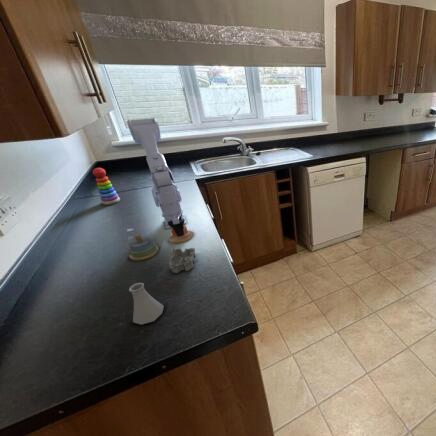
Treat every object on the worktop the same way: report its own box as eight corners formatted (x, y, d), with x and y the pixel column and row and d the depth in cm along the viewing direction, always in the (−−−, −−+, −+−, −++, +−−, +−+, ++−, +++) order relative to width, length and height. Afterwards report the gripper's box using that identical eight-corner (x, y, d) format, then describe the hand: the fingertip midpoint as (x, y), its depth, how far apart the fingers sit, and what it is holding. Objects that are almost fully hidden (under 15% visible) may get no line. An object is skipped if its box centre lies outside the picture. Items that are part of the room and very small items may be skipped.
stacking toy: (99, 206, 138) (83, 171, 129) (106, 200, 145) (91, 166, 136) (117, 204, 140) (102, 169, 131) (122, 198, 147) (109, 164, 138)
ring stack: (130, 251, 101) (122, 233, 98) (158, 243, 105) (151, 226, 102) (129, 263, 94) (121, 245, 91) (159, 255, 98) (152, 237, 95)
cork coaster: (168, 235, 111) (168, 234, 111) (192, 229, 115) (191, 228, 115) (170, 245, 104) (169, 244, 104) (195, 238, 108) (194, 238, 108)
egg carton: (175, 256, 98) (172, 247, 96) (198, 253, 99) (195, 243, 97) (168, 275, 88) (164, 265, 86) (193, 270, 90) (190, 260, 88)
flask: (168, 304, 77) (157, 276, 72) (155, 324, 71) (142, 296, 66) (143, 305, 77) (130, 277, 72) (127, 325, 70) (112, 297, 66)
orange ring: (172, 232, 109) (170, 227, 108) (186, 228, 112) (185, 224, 111) (173, 238, 105) (171, 233, 104) (188, 234, 108) (187, 229, 107)
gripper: (157, 197, 106) (167, 227, 112) (159, 211, 95) (170, 243, 101) (177, 193, 109) (186, 223, 115) (181, 206, 98) (190, 238, 104)
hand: (180, 232), depth 108 cm, fingers closed on orange ring, 5 cm apart
